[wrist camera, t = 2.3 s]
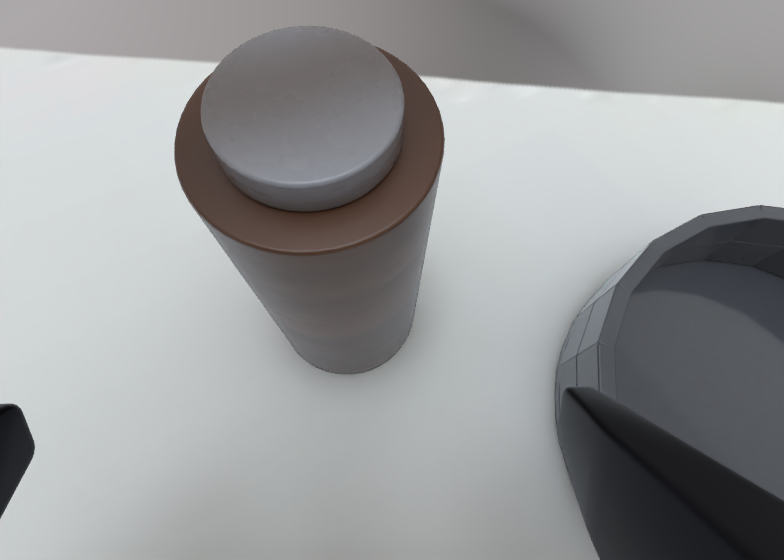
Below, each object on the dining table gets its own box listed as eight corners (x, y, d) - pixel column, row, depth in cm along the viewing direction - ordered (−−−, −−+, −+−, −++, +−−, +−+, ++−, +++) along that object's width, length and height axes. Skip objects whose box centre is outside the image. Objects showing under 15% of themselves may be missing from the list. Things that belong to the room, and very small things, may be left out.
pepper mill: (437, 335, 21) (508, 149, 9) (317, 399, 20) (215, 284, 8) (375, 231, 23) (366, -38, 11) (263, 284, 22) (113, 51, 10)
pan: (1020, 504, 19) (1200, 512, 15) (730, 744, 16) (853, 840, 12) (743, 206, 24) (820, 149, 20) (484, 349, 21) (510, 317, 17)
